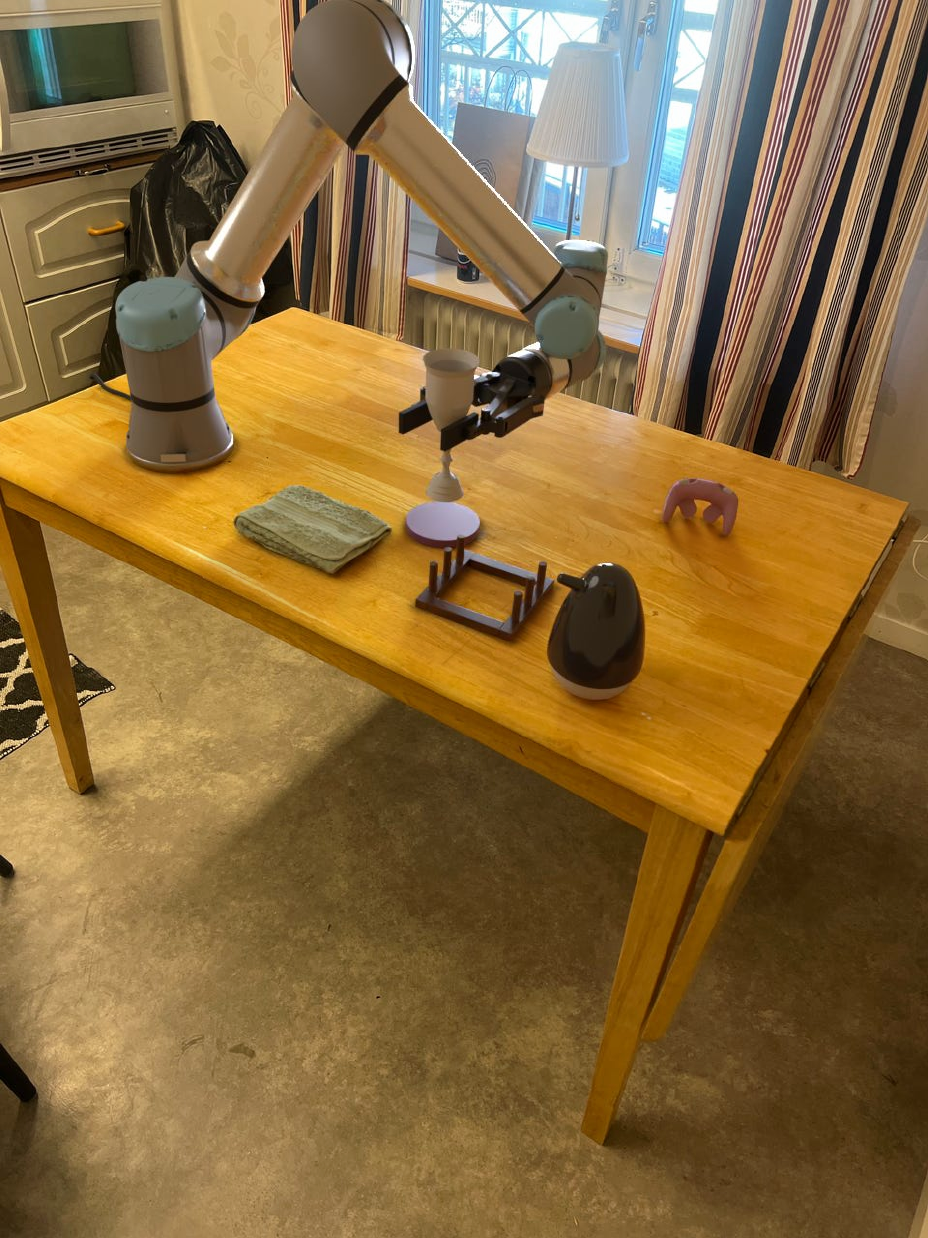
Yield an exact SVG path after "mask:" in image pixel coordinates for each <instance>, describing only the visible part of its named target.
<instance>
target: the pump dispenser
mask: <svg viewBox="0 0 928 1238" xmlns="http://www.w3.org/2000/svg"><path fill="white" fill-rule="evenodd" d="M556 582H557V583H558V584H560V585H562V586H564V587H567V588H569V589H570V590H569V591H568V593H567V595H566V596H565V598H564V600H563V601H562V603H561V606H560V607H559V609H558V612H557V613H556V616H555V618H554V621H553V623H552V627H551V630H550V633H549V637H548V640H547V646H546V647H547V648H546V657H547V660H548V663H549V665H550V668H551V672H552V674H553V676H554V679H556V681H557V683H558V684H559V685H560V686H561V687H562V688H563V689H564V690H565V691H567V692H569V693H570V694H572V695H573V696H576V697H578V698H580V699H584V700H593V701H601V700H607V699H611V698H613V697H616V696H618V695H619V694H621V693H623V692H624V691H625V690H626V689H628V687H629V686H630V685H631V684H632V683H633V681H634V680H636V678H637V677H638V676H639V674H640V673H641V671H642V668H643V664H644V661H645V660H644V659H645V649H646V619H645V612H644V607H643V602H642V598H641V594H640V591H639V588H638V585H637V583H636V581H635V578H634V577H633V575H632V574H631V572H630V571H629V570H627V569H626V568H625V567H624V566H623V565H621V564H618V563H614V562H600V563H597V564H594V565H592V566H591V567H589V568H588V569H587V570H586V571H584V572H583V574H582V575H581V576H575V575H571V574H568V573H564V572H560V573H558V574H557V577H556Z"/></svg>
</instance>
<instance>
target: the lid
mask: <svg viewBox="0 0 928 1238" xmlns="http://www.w3.org/2000/svg"><path fill="white" fill-rule="evenodd" d="M480 528H481V521H480V517H479V515H478V514H477V513H476V512H475V511H474V510H473V509H471V508H469V507H468V506H466V505H463V504H460V503H457V502H454V501H453V502H439V501H435V500H434V501H428V502H427V501H426V502H423V503H420V504H418V505H416V506H414V507H412V508H410V510H409V511H408V512H407V514H406V516H405V531H406V533H407V535H408V536H409V537H410V538H411V539H412V540H414V541H415V542H417V543H419V544H421V545H424V546H427V547H431V548H436V549H444V548H446V547H450V548H451V549H455V548H457V536H458V535H459V534H464V535H465V546H466V545H467V544H470V543H472V542H474V541H475V539H477V537H478V536H479V533H480Z"/></svg>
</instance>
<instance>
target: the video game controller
mask: <svg viewBox="0 0 928 1238" xmlns="http://www.w3.org/2000/svg"><path fill="white" fill-rule="evenodd" d="M695 501H704V502H707V503H710V504H709V505H708V506H706V507H705V508H704V509H703V511H702V518H703V520H704V521H706V523H710V524H712V523H715V522H717V521H718V519H720V518H721V516H722V517H723V520H722V521H723V522H722V535H723V536H724V537H728V536H730V534H731V533H732V531H733V529H734V527H735V526H734V525H735V522H736V519H737V515H738V508H739V498H738V496H737V493H735V491H733V490H732V489H731V488H730V487H728V486H726V485H725V484H722V483H720V482H717V481H715V480H711V479H707V478H699V477H698V478H693V477H692V478H682V479H679V480H678V481H675V482H674V483H673V484H672V485H671V486H670V488H669V490H668V492H667V495H666V497H665V501H664V504H663V505H664V506H663V511H662V521H663V523H664V524H668V523H669V522H670V521H671V519H672V518H673V516H674V514H675V512H676V509H677V508H679V512H680V514H681V515H682V516H683V517H684V518H692V517H694V516H695V515H696V514H697V511H698V505H697V504H696V502H695Z"/></svg>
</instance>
